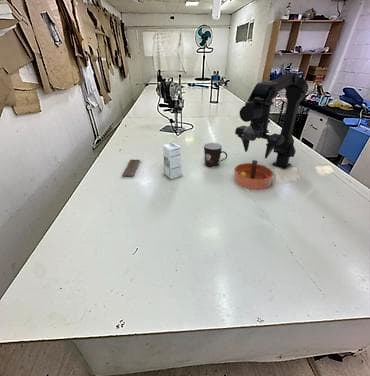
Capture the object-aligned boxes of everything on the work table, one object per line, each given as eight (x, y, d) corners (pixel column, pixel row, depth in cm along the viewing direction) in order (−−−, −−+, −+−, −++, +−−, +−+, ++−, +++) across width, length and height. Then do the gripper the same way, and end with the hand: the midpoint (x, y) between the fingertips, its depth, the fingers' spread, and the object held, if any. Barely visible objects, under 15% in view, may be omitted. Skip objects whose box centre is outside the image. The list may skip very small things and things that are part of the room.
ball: (244, 173, 104) (242, 169, 103) (249, 177, 102) (247, 172, 100) (239, 178, 104) (237, 173, 102) (243, 181, 101) (241, 176, 100)
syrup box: (181, 176, 105) (181, 146, 99) (170, 179, 102) (169, 148, 96) (174, 171, 109) (174, 142, 103) (163, 174, 106) (162, 144, 100)
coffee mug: (199, 162, 118) (200, 144, 114) (214, 160, 121) (215, 141, 117) (211, 172, 108) (213, 152, 104) (227, 169, 112) (229, 149, 108)
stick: (251, 178, 103) (254, 159, 99) (255, 180, 101) (258, 161, 98) (248, 180, 101) (251, 161, 98) (252, 181, 100) (255, 162, 96)
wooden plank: (133, 174, 103) (122, 173, 103) (133, 177, 104) (122, 176, 104) (139, 159, 119) (130, 159, 118) (140, 161, 119) (130, 161, 119)
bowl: (246, 169, 112) (247, 160, 110) (277, 182, 101) (279, 171, 99) (226, 180, 102) (227, 170, 100) (258, 195, 91) (260, 184, 89)
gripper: (228, 116, 91) (225, 153, 98) (273, 126, 79) (266, 168, 85) (244, 111, 98) (240, 146, 105) (288, 120, 86) (281, 159, 92)
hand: (255, 154), depth 96 cm, fingers open, 9 cm apart
